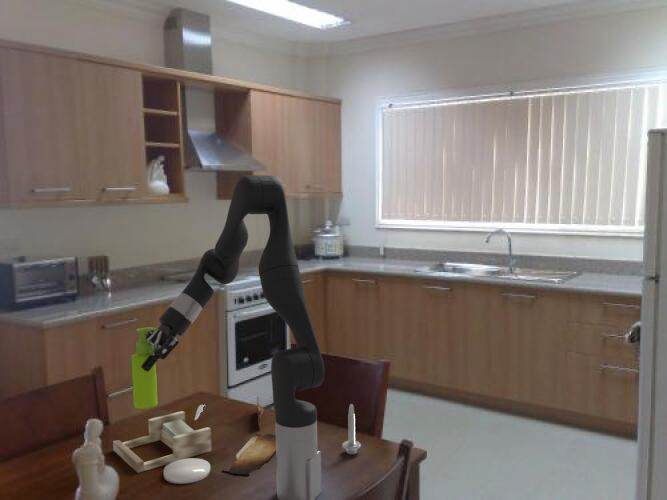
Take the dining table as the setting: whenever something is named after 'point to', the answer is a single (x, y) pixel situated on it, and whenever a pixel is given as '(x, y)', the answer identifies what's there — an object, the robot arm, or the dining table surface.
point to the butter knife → (199, 411)
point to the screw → (351, 434)
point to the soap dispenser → (143, 373)
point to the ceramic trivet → (186, 470)
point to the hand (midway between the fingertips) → (139, 366)
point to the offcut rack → (166, 441)
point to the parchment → (254, 454)
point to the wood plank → (259, 411)
